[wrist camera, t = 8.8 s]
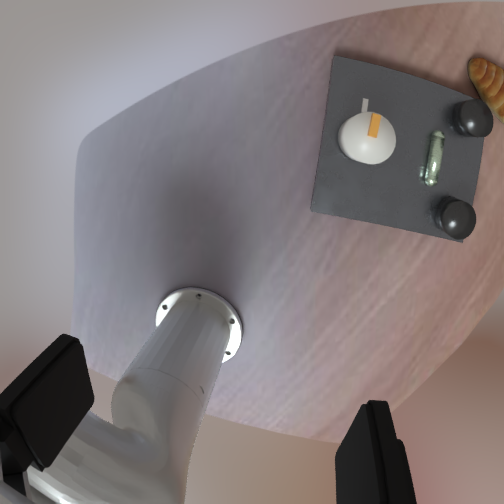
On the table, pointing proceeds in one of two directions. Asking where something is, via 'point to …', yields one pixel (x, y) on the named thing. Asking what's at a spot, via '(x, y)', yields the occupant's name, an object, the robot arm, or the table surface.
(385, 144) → the oval dial with ridge
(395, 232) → the table surface
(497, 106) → the pastry
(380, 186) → the base
